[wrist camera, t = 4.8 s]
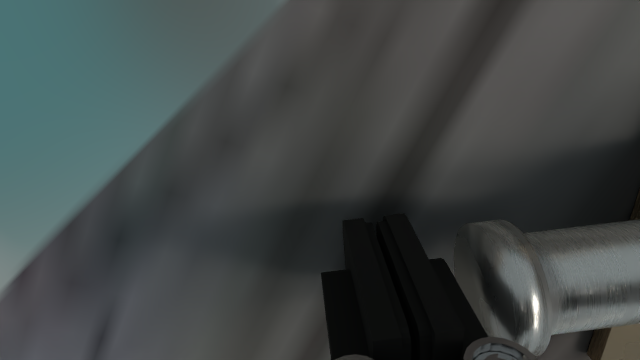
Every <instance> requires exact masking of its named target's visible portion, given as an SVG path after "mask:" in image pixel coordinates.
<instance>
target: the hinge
mask: <svg viewBox="0 0 640 360" xmlns="http://www.w3.org/2000/svg"><path fill="white" fill-rule="evenodd" d="M638 219H640V189H639V192H638V195H637V198H636V202H635V205H634V208H633V211H632V214H631V217H630V220H638ZM630 220H629V221H630ZM587 354H588V356H589V357H590V358H591V359H592V360H640V324H634V325H626V326H618V327H610V328H603V329H595V330H594V333H593V336H592V339H591V342H590V345H589V348H588V352H587Z"/></svg>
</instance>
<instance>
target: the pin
mask: <svg viewBox="0 0 640 360" xmlns="http://www.w3.org/2000/svg"><path fill="white" fill-rule="evenodd" d="M454 270H455V279H456V281H457V283H458V284H459V286H460V288H461V290H462V291H463V293H464V295H465V297H466V298H467V300H468V302H469V304H470V305H471V307H472V309H473V311H474V312H475V314H476V316H477V318H478V319H479V321H480V323H481V325H482V326H483V328H484V330H485V332H486V333H487V335H488V337H498V338H505V339H508V340H511V341H514V342H516V343H518V344H520V345H521V346H523V347H525V348H526V349H528V350H529V351H530V352H531V353H532V354H533V355H534V356H539V355H541V354H542V353H543V352H544V351H545V350H546V348H547V347H548V345H549V342H550V339H551V335H556V334H563V333H571V332H579V331H587V330H595V329H603V328H610V327H618V326H626V325H634V324H640V219H638V220H630V221H621V222H613V223H605V224H596V225H588V226H580V227H571V228H563V229H554V230H546V231H538V232H529V233H522V231H521V230H520V229H519V228H518V227H516V226H515V225H514V224H512V223H511V222H509V221H506V220H492V221H484V222H476V223H467V224H465V225H463V226H462V227H461V228H460V230H459V232H458V234H457V237H456V241H455V247H454Z"/></svg>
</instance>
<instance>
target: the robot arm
mask: <svg viewBox="0 0 640 360" xmlns="http://www.w3.org/2000/svg"><path fill="white" fill-rule="evenodd" d="M376 228H377V237H376V234H375V231H374V228H373V225H372V223H364V220H363V218H361V219H352V220H344V221H343V238H344V251H345V265H346V270H339V271H331V272H323V273H321V277H322V286H323V295H324V304H325V313H326V321H327V329H328V338H329V346H330V354H331V360H538V358H537V357H536V356H534V355H533V354H532V353H531V352H530V351H529V350H528V349H526V348H525V347H523V346H521V345H520V344H518V343H516V342H514V341H511V340H508V339H505V338H498V337H488V335H487V333H486V332H485V330H484V328H483V326H482V325H481V323H480V321H479V319H478V318H477V316H476V314H475V312H474V311H473V309H472V307H471V305H470V304H469V302H468V300H467V298H466V297H465V295H464V293H463V291H462V290H461V288H460V286H459V284H458V283H457V281H456V279H455V277H454V275H453V274H452V272H451V270H450V268H449V267H448V265H447V263H446V262H445V260H444V259H442V258H437V259H428V257H427V255H426V253H425V251H424V249H423V247H422V246H421V244H420V242H419V240H418V238H417V236H416V234H415V232H414V230H413V228H412V226H411V224H410V222H409V220H408V218H407V216H406V215H405V214H404V213H403V214H395V215H386V216H384V217H383V221H381V222H377V226H376Z"/></svg>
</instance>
